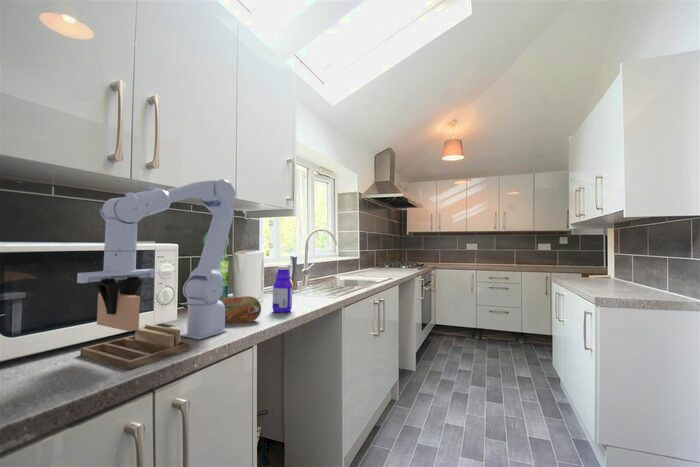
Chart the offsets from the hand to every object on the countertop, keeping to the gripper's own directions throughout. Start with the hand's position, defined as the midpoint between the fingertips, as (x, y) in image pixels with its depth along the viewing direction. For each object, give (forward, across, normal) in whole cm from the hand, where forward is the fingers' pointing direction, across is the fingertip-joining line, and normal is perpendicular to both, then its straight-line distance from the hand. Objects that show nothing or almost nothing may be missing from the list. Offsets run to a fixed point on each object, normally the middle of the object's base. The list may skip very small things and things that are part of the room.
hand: (117, 312), depth 67 cm
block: (+3, 0, 0) cm, 3 cm away
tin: (+10, -36, -1) cm, 37 cm away
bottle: (+10, -56, +2) cm, 57 cm away
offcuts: (+10, -9, 0) cm, 13 cm away
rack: (+10, -5, 0) cm, 11 cm away
